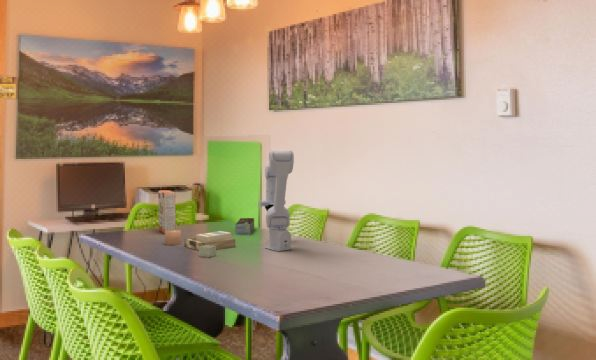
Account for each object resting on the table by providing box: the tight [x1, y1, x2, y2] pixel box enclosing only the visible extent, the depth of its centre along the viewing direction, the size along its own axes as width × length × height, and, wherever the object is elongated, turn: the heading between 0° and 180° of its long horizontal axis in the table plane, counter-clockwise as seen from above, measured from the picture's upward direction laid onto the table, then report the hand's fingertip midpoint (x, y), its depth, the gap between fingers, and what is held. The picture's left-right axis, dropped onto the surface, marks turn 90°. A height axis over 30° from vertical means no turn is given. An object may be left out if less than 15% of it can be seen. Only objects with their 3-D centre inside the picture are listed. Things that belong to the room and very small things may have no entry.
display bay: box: [184, 236, 236, 251], centre depth 255 cm, size 14×18×4 cm
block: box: [164, 229, 182, 246], centre depth 261 cm, size 7×7×6 cm
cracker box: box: [158, 189, 177, 235], centre depth 292 cm, size 14×6×21 cm, turn 25°
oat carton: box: [195, 230, 233, 243], centre depth 255 cm, size 8×14×6 cm, turn 140°
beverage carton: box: [235, 217, 255, 236], centre depth 296 cm, size 8×19×7 cm, turn 179°
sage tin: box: [198, 245, 217, 258], centre depth 236 cm, size 5×5×4 cm
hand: (272, 220), depth 267 cm, fingers closed
